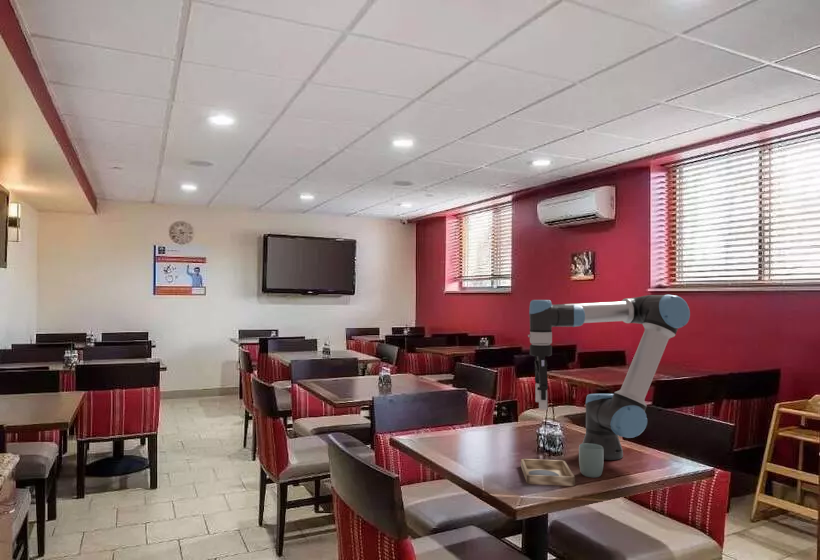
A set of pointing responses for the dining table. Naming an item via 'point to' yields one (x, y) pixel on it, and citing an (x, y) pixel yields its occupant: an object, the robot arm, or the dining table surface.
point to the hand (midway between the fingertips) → (541, 405)
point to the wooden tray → (549, 465)
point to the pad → (543, 473)
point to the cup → (591, 459)
